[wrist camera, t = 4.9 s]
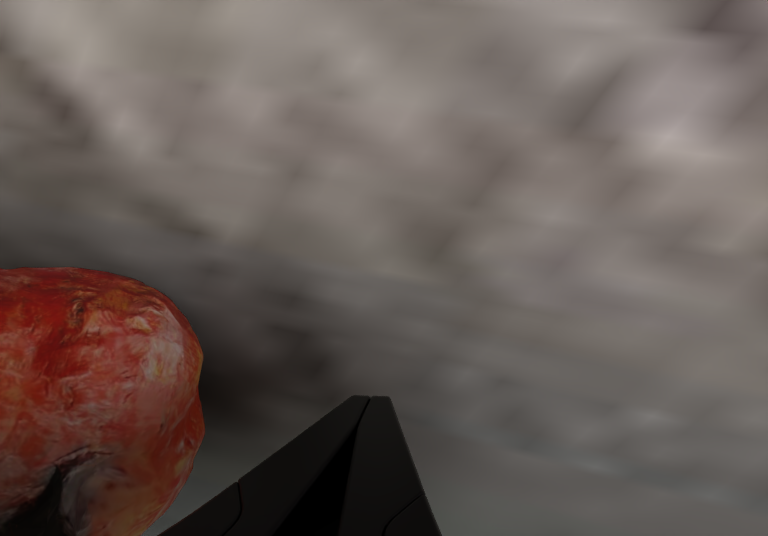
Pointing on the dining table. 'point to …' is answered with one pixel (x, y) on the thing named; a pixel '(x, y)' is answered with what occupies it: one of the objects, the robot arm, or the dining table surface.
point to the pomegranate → (93, 403)
